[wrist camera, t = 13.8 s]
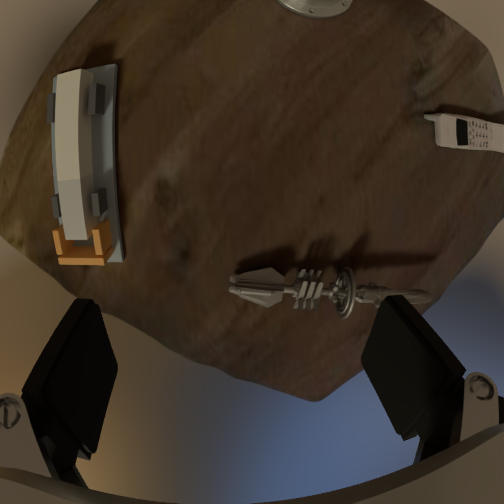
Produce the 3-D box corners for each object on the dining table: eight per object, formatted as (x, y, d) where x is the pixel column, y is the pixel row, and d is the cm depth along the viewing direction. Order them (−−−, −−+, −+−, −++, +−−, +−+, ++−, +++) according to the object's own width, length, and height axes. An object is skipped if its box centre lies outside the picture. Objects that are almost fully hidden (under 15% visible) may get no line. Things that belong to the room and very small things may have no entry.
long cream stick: (71, 78, 26) (57, 74, 23) (93, 73, 27) (81, 68, 23) (77, 229, 35) (65, 239, 32) (98, 228, 36) (87, 239, 32)
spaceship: (427, 327, 42) (451, 301, 36) (226, 321, 41) (227, 290, 35) (416, 291, 48) (436, 264, 42) (230, 279, 46) (232, 244, 40)
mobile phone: (521, 157, 32) (447, 151, 31) (501, 151, 38) (423, 146, 37) (521, 127, 30) (445, 110, 29) (501, 124, 35) (421, 109, 34)
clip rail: (57, 78, 27) (38, 74, 22) (117, 64, 28) (104, 57, 23) (69, 258, 38) (55, 273, 34) (124, 258, 39) (114, 275, 35)
